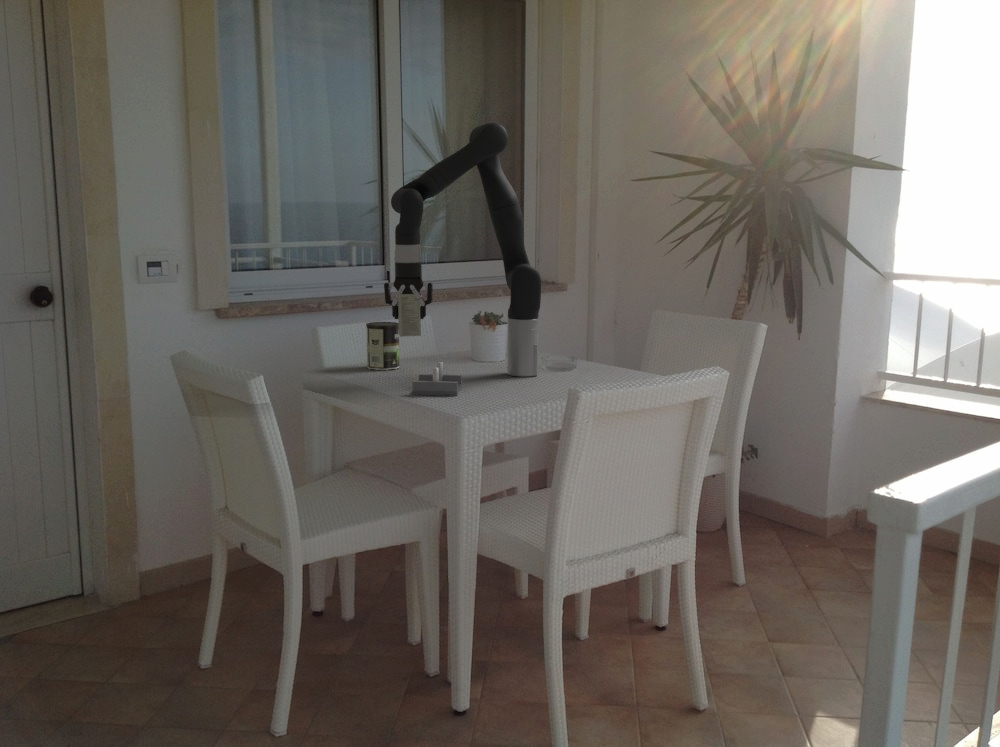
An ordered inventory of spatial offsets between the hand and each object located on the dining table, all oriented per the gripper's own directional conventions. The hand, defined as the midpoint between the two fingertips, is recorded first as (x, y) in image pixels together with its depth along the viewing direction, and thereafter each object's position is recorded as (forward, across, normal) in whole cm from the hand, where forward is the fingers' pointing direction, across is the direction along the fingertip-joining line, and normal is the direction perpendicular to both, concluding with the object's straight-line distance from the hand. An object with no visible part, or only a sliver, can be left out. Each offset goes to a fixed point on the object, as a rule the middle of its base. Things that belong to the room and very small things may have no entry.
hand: (409, 318), depth 270 cm
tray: (+19, -10, +12) cm, 24 cm away
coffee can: (+19, +12, -23) cm, 32 cm away
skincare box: (+5, 0, 0) cm, 5 cm away
